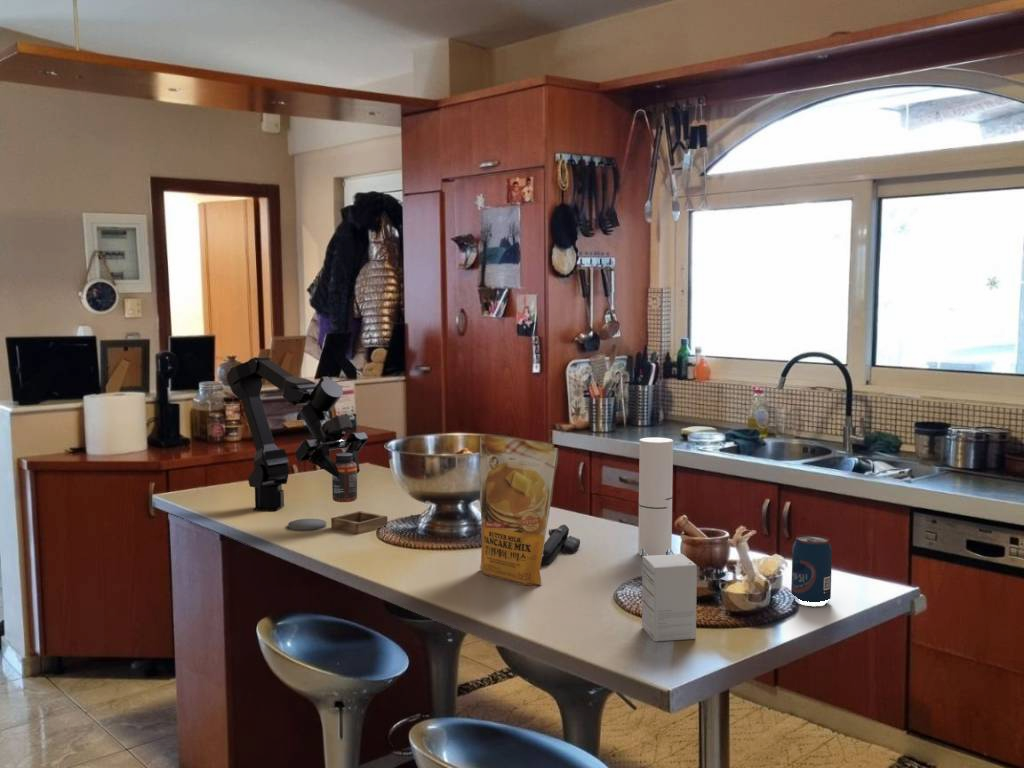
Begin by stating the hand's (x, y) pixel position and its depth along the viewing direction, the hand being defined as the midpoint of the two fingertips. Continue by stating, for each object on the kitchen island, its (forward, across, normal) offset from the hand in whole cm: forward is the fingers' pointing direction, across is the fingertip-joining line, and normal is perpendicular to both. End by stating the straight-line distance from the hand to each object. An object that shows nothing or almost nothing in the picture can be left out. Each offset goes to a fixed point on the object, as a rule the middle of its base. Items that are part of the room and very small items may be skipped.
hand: (348, 474), depth 236 cm
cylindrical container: (+57, +29, -40) cm, 75 cm away
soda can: (+84, +20, -69) cm, 111 cm away
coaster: (+3, -5, +16) cm, 17 cm away
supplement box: (+77, -12, -61) cm, 99 cm away
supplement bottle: (+4, 0, +6) cm, 7 cm away
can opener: (+46, +14, -29) cm, 56 cm away
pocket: (+10, +2, +8) cm, 14 cm away
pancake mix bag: (+48, -4, -31) cm, 58 cm away
